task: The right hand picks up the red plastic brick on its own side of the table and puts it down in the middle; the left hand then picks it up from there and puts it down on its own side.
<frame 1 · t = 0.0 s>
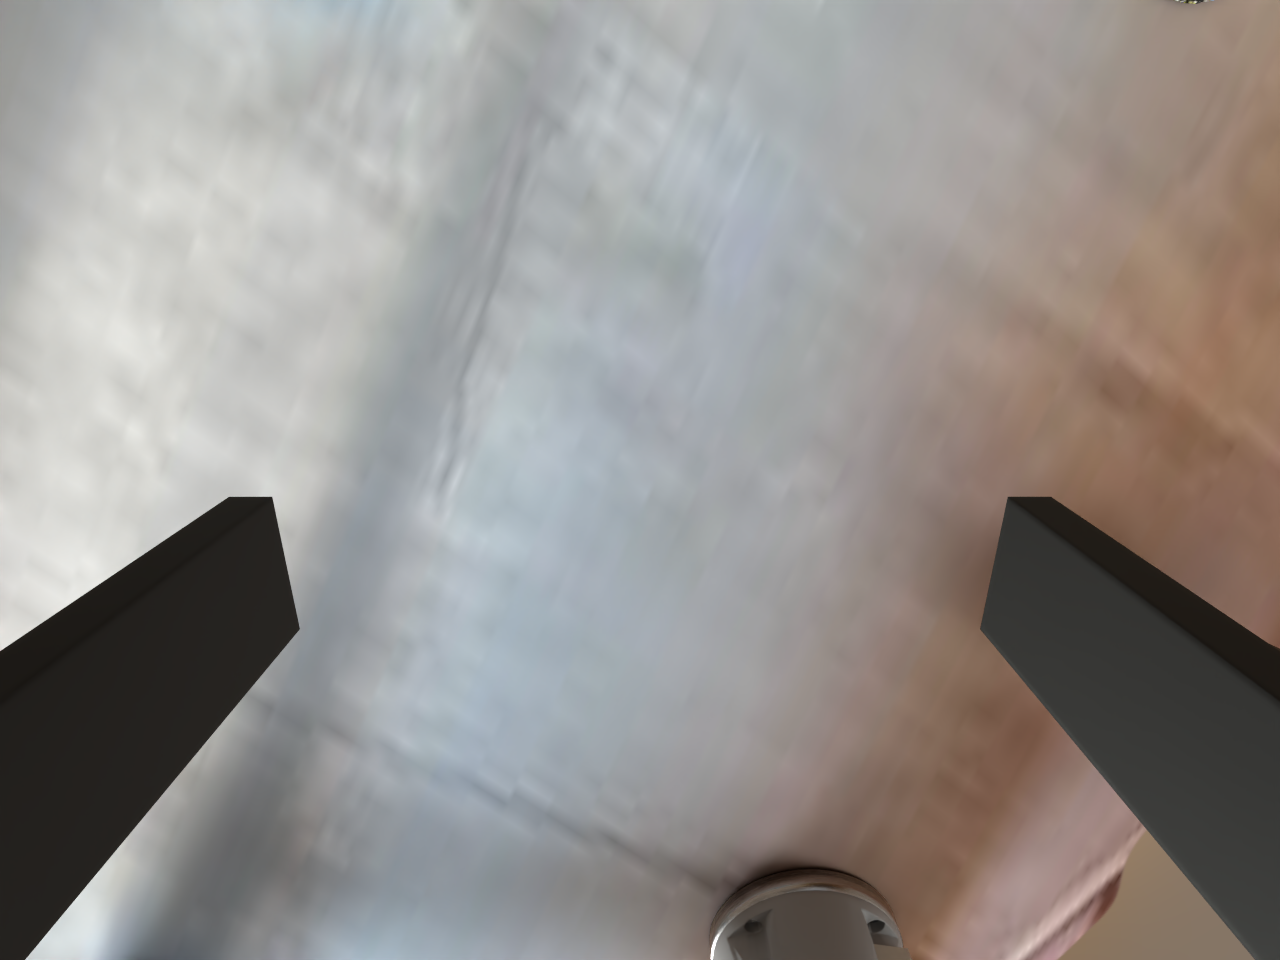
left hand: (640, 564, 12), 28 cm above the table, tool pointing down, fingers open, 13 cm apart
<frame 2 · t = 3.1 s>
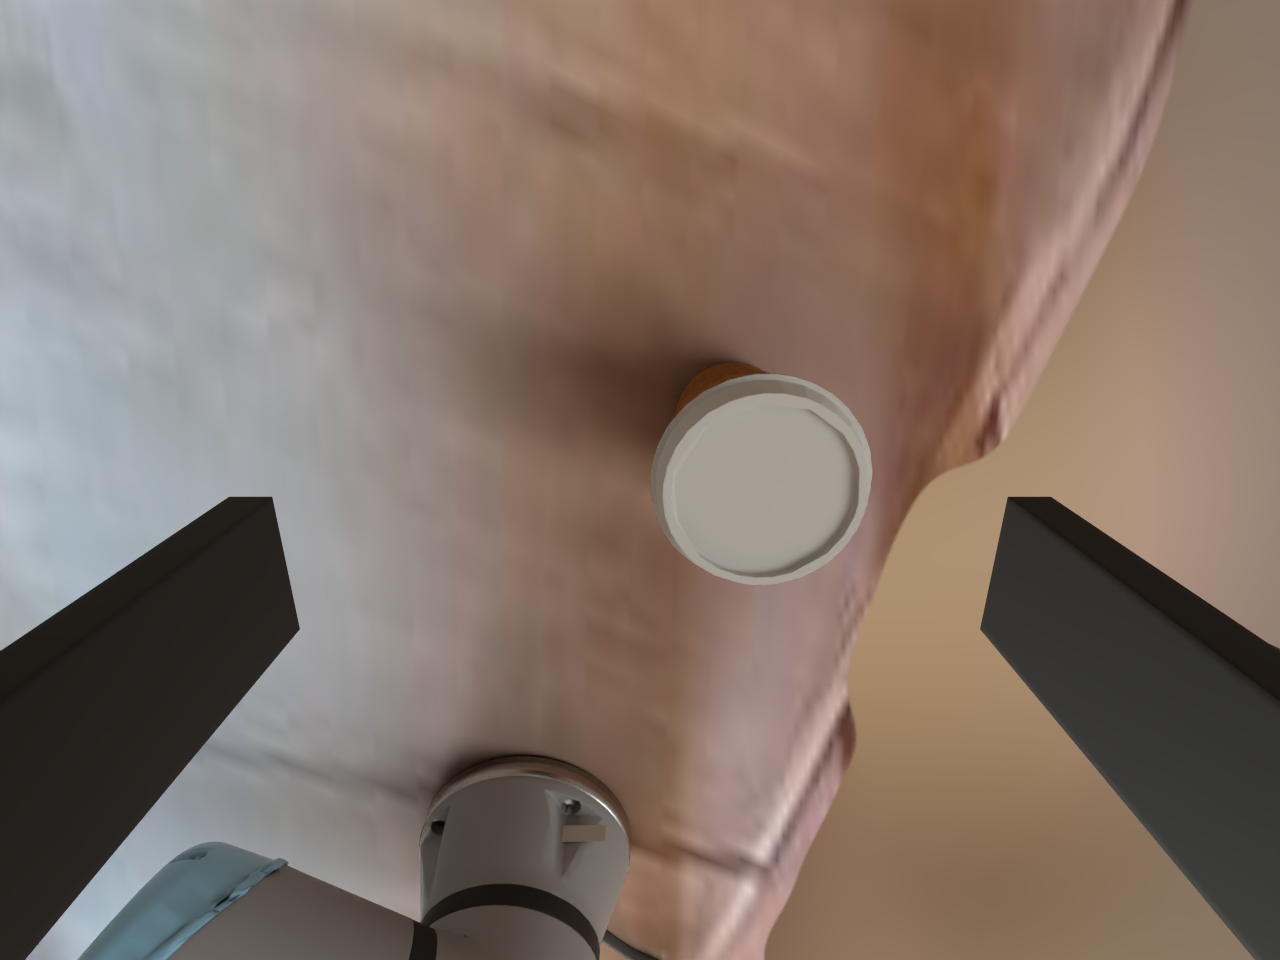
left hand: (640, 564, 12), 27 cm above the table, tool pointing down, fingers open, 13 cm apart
disposable coffee cup: (729, 415, 40), on the table
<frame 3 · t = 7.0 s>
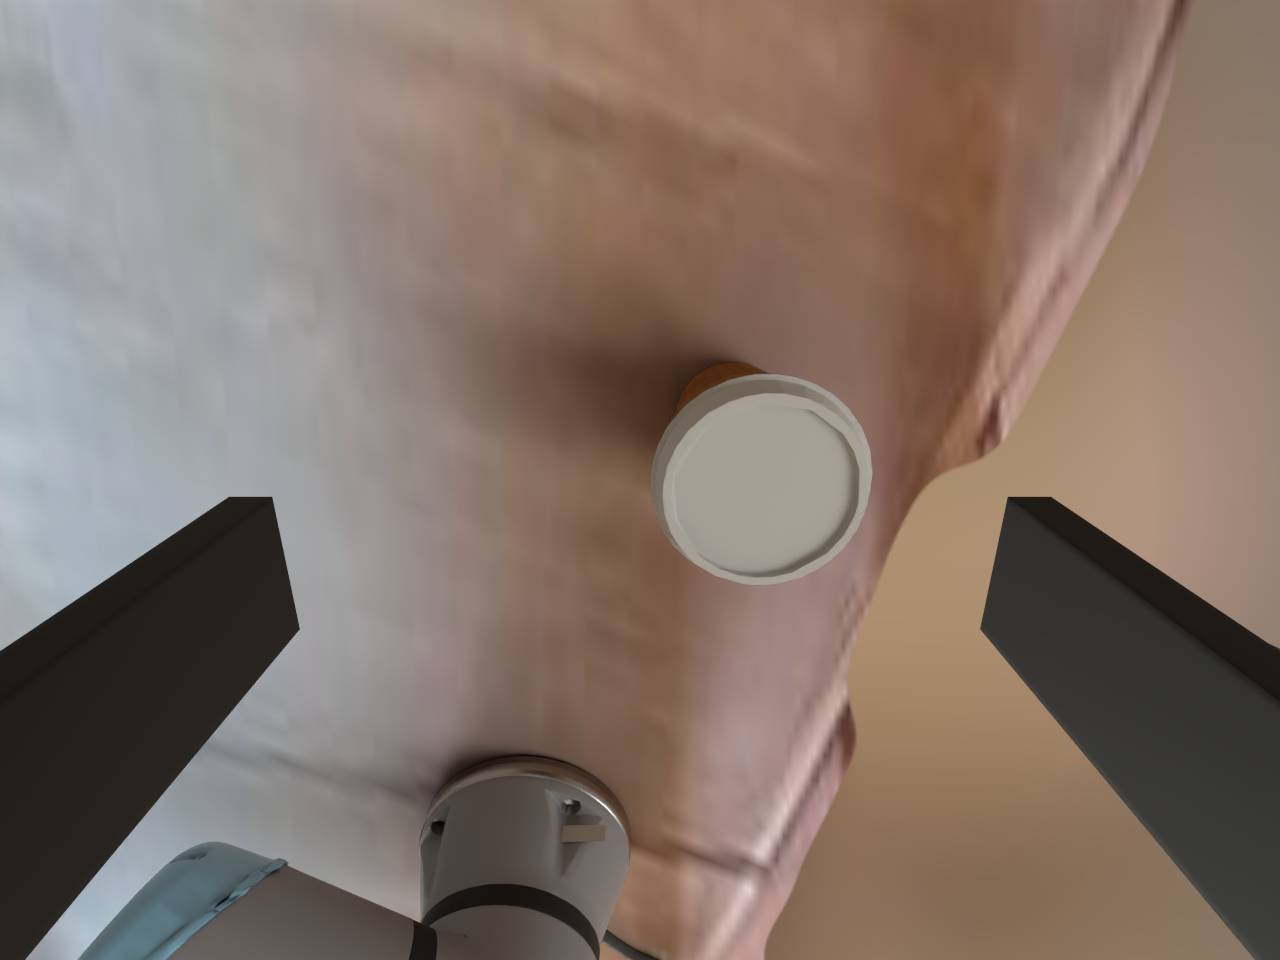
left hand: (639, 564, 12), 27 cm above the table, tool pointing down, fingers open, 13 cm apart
disposable coffee cup: (729, 415, 40), on the table
when the right hand's fingers open (3 cm above the table, at t = 11.2 s): brick drops 1 cm, on the table.
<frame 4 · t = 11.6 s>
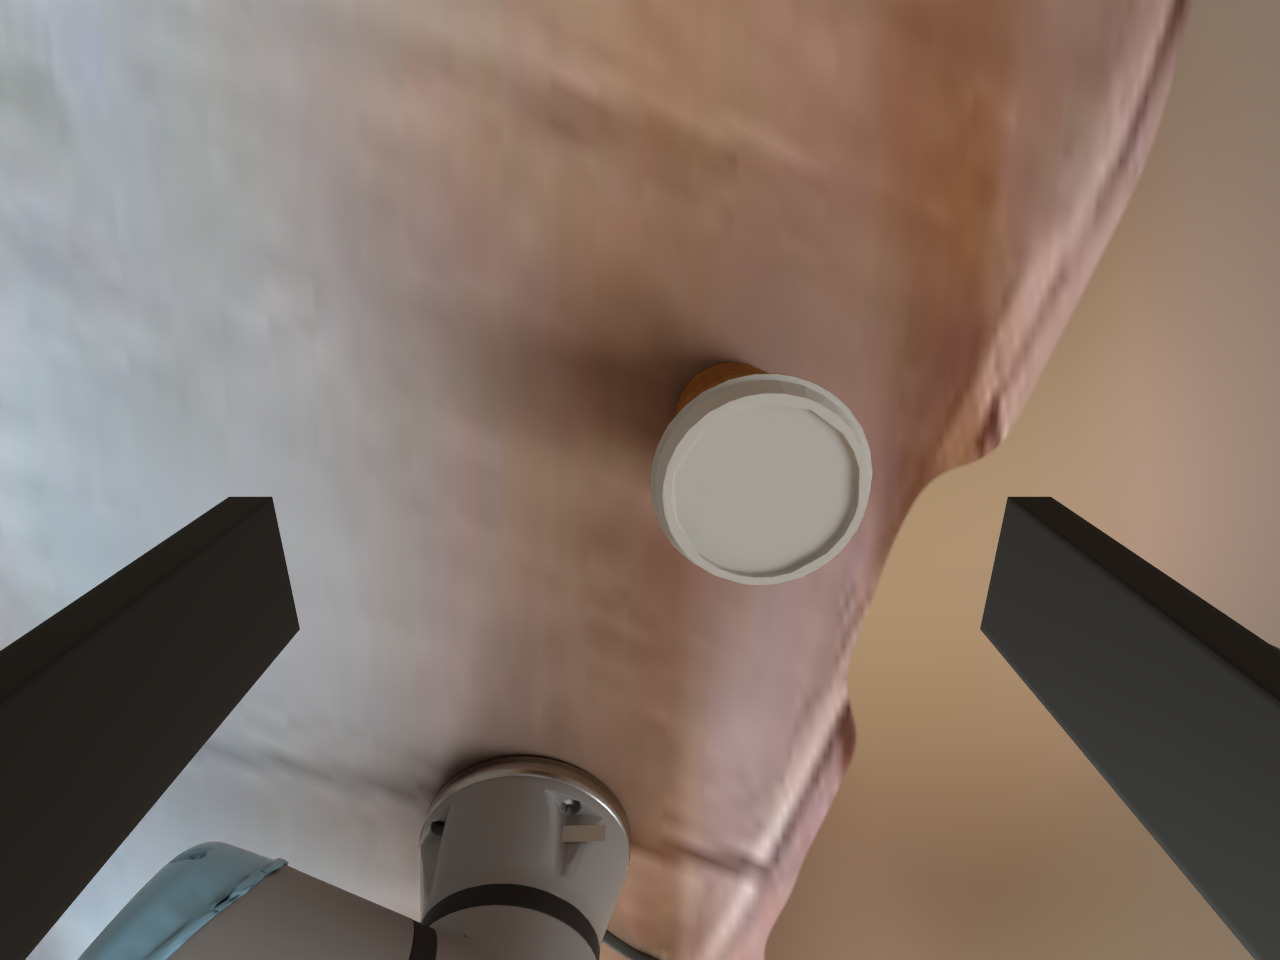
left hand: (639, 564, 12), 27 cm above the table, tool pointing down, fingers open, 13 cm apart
disposable coffee cup: (729, 415, 40), on the table
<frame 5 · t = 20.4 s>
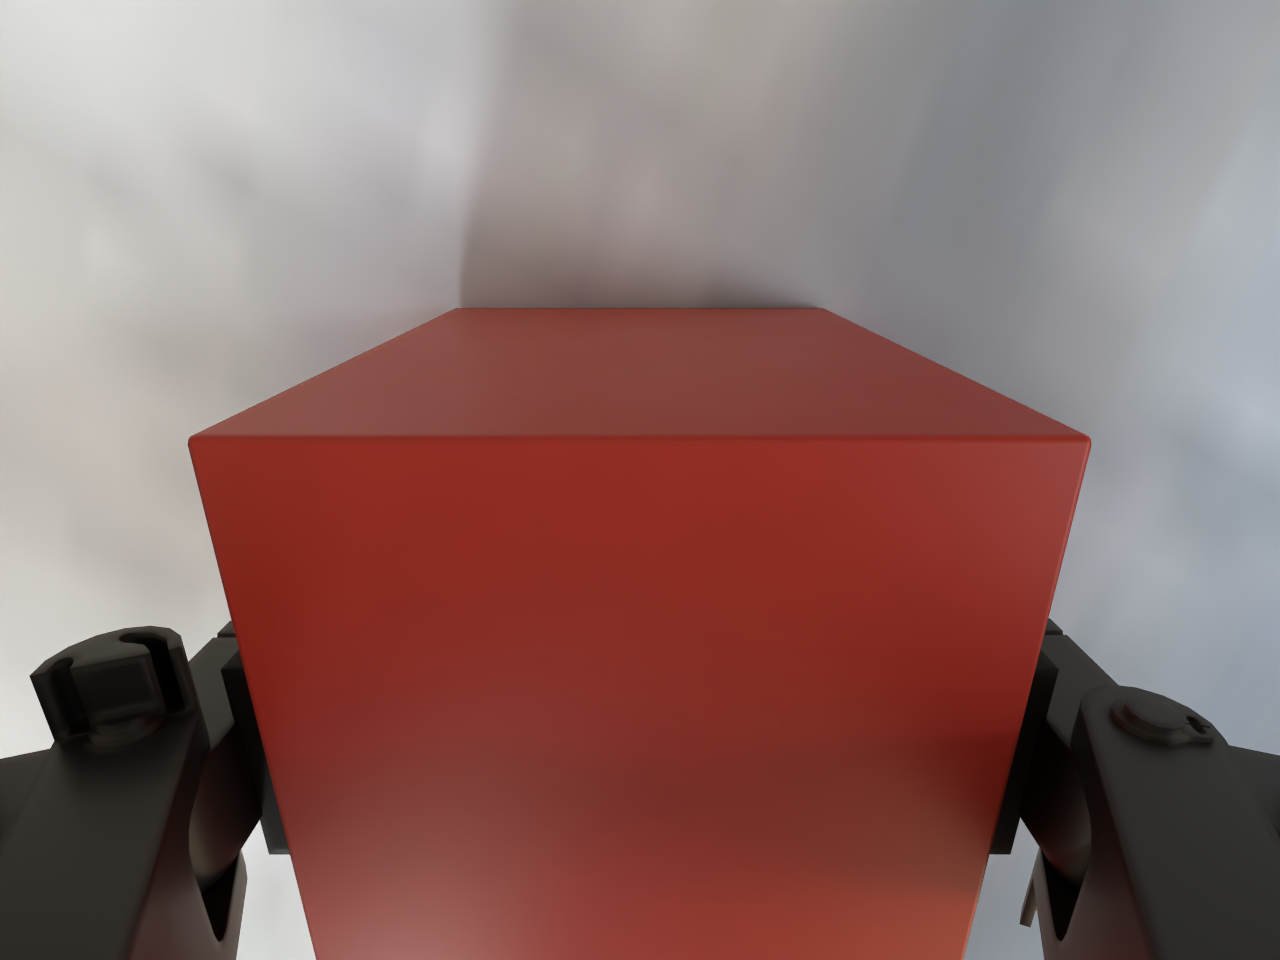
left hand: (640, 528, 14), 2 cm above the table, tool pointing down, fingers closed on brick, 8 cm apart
brick: (639, 498, 15), on the table, touching left hand
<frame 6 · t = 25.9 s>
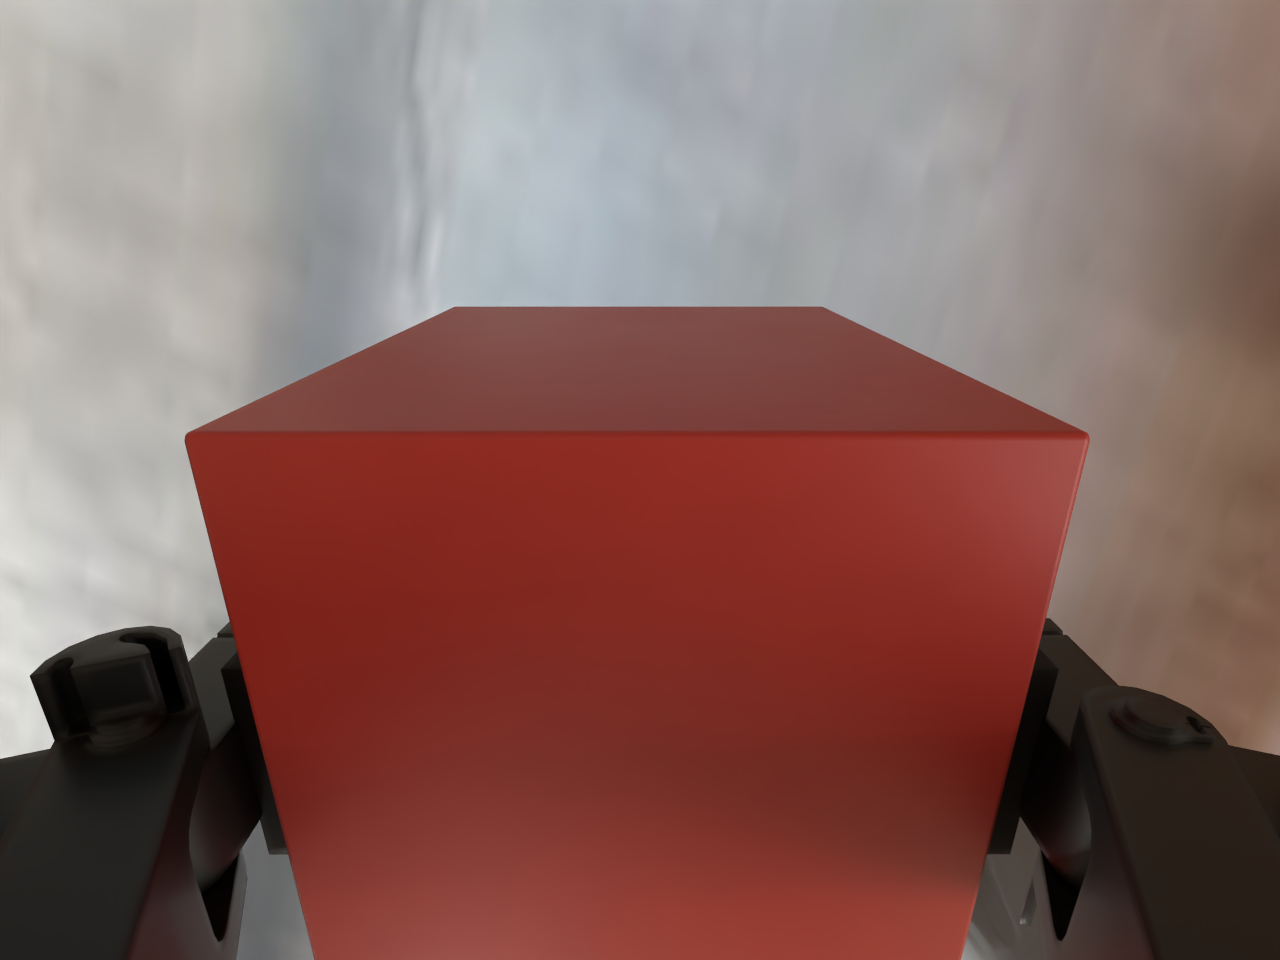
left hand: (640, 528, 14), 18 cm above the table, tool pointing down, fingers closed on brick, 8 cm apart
brick: (638, 497, 15), point 16 cm above the table, touching left hand
when the left hand's fingers open (3 cm above the table, at t = 31.8 s): brick drops 1 cm, on the table.
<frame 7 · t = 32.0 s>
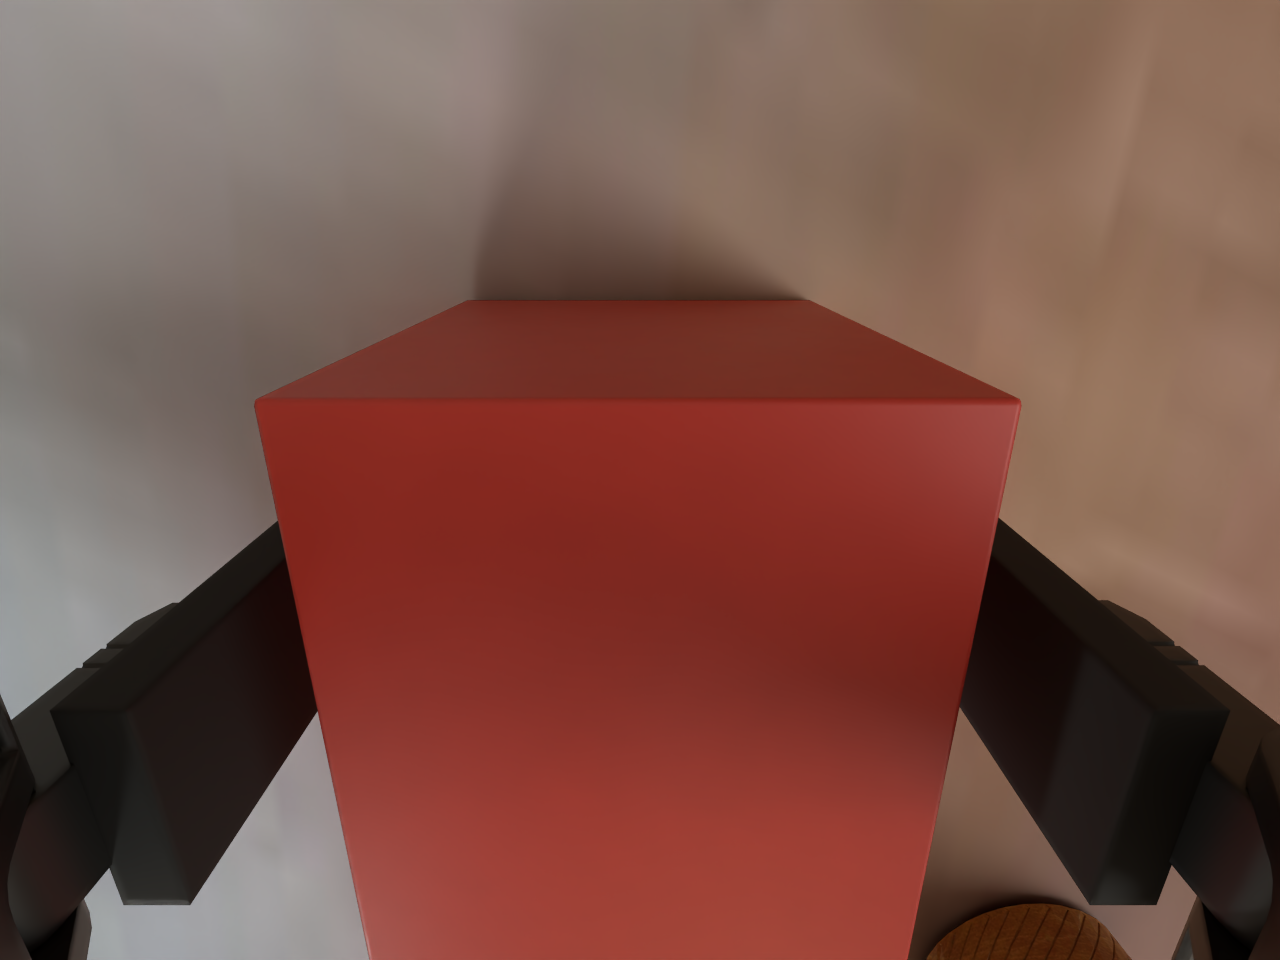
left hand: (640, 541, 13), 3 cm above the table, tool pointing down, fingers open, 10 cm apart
brick: (638, 479, 16), on the table
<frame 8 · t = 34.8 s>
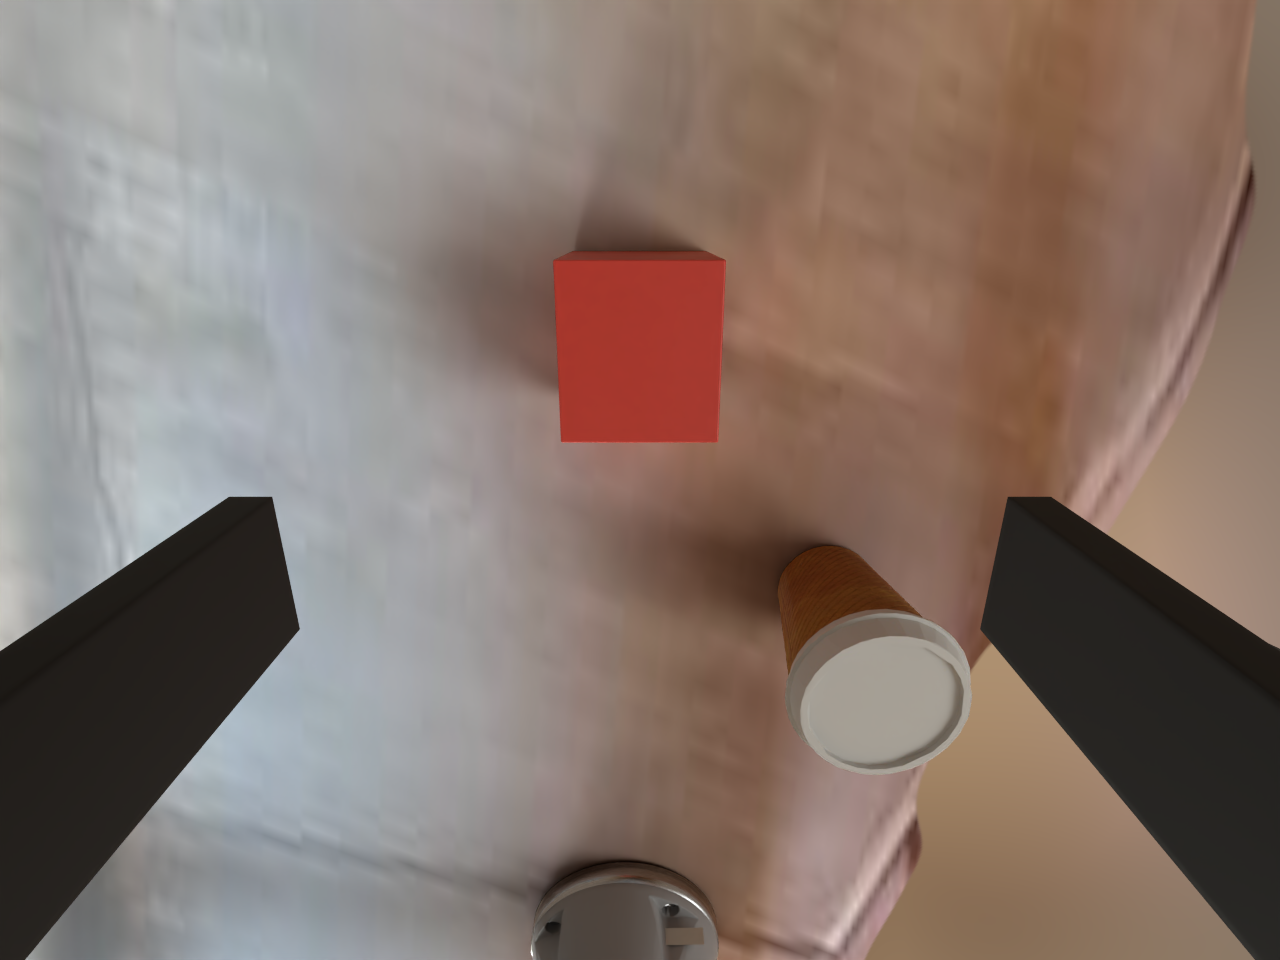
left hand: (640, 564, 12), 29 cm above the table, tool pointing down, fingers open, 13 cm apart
brick: (639, 327, 39), on the table
disposable coffee cup: (823, 586, 45), on the table
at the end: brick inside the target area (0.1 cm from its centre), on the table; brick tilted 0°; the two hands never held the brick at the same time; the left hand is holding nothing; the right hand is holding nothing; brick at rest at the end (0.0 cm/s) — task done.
